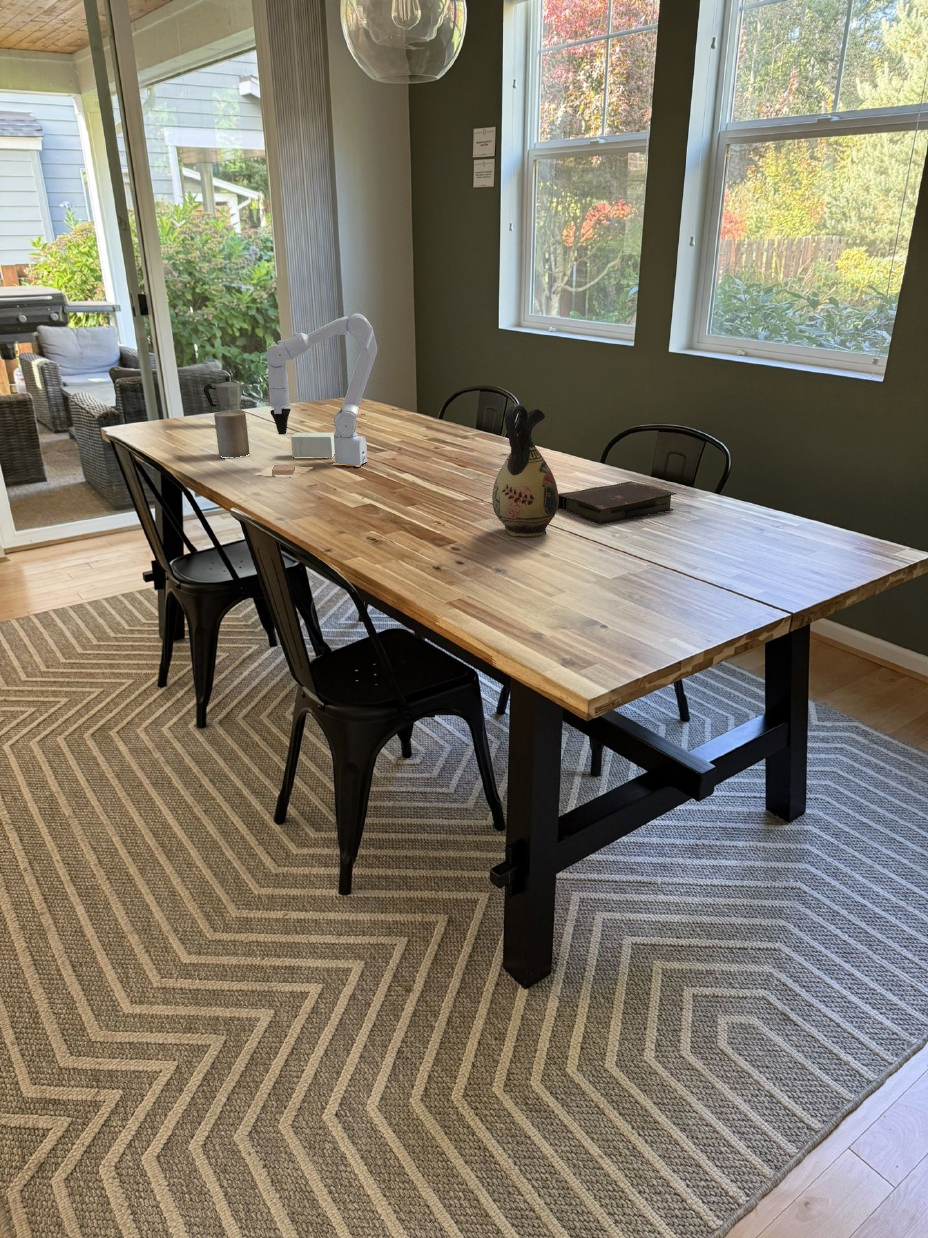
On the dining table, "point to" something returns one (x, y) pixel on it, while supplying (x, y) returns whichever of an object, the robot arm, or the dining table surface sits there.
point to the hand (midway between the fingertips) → (282, 433)
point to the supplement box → (313, 445)
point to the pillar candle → (232, 433)
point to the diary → (616, 502)
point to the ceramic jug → (524, 479)
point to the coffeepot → (226, 394)
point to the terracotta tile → (283, 470)
